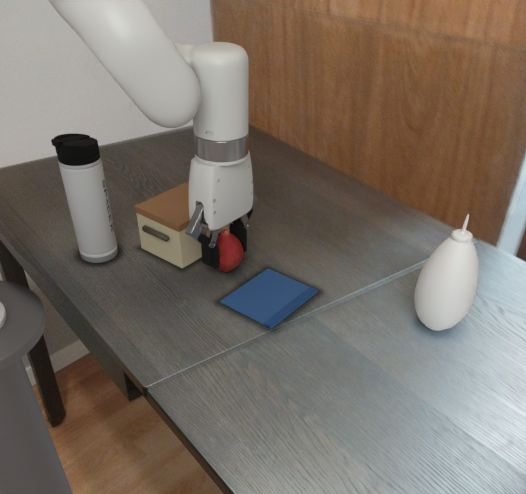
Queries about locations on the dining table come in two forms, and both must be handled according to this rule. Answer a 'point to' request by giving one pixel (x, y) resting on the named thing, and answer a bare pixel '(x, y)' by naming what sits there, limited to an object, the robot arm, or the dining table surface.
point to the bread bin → (169, 227)
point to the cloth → (269, 297)
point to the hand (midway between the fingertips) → (224, 256)
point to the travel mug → (87, 196)
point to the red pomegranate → (229, 250)
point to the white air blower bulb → (448, 281)
